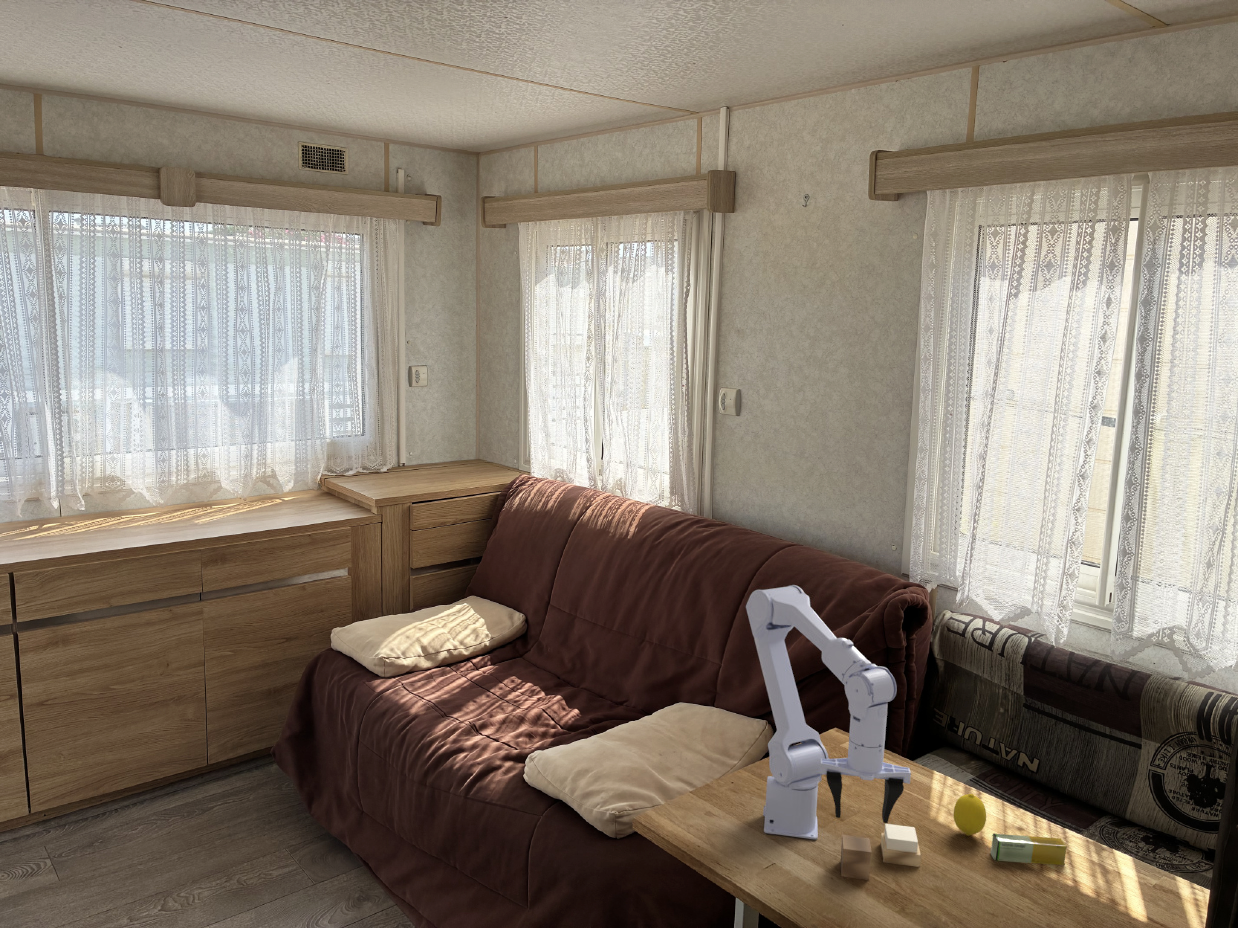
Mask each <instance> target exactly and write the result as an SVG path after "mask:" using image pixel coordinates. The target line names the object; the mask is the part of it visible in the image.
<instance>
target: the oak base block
mask: <svg viewBox="0 0 1238 928" xmlns="http://www.w3.org/2000/svg"><path fill="white" fill-rule="evenodd" d="M884 833H885V832H881V834H880V835H881V836H880V848H881V854H882V861H883V863H887V864H894V865H895V864H896V865H902V866H909V867H910V866H911V867H915V868H916V867H917V868H920V867H921V857H922V856H921V850H920V846H919V844H918V849H917V853H913V852H905V851H897V850H890V849H887V847H886V841H885V835H884Z"/></svg>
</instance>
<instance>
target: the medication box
mask: <svg viewBox="0 0 1238 928" xmlns="http://www.w3.org/2000/svg"><path fill="white" fill-rule="evenodd" d="M991 837H992V841H991V848H990V855H991V858H992V859H993V860H994V861H999V862H1011V863H1027V864H1028V863H1030V864H1042V865H1057V866H1059V865H1060V866H1065V865H1066V862H1065V861H1066V854H1067V848H1068V846H1067V844H1066V843H1065V841H1064V840H1063V839H1062V838H1061V837H1060V838H1059V837H1048V836H1047V837H1046V836H1033V835H1031V836H1030V835H1018V834H1017V835H1016V834H1003V833H992V836H991Z"/></svg>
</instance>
